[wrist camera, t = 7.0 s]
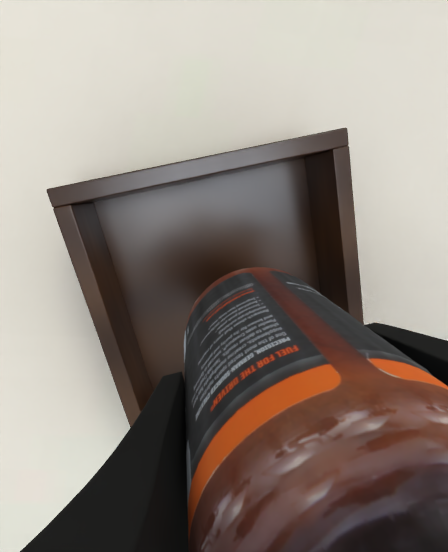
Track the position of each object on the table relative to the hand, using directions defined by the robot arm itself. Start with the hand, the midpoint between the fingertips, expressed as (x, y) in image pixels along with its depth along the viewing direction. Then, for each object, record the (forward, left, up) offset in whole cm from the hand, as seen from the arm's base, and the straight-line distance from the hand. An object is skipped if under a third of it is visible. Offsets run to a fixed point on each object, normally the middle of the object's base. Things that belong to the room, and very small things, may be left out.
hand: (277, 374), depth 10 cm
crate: (0, 0, -10) cm, 10 cm away
